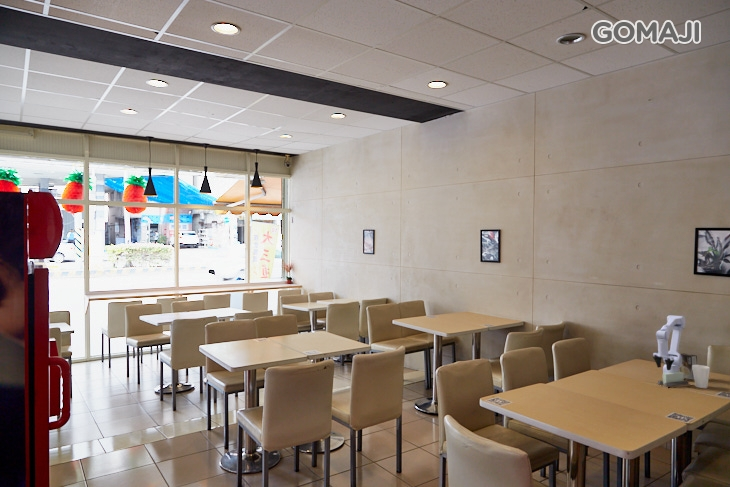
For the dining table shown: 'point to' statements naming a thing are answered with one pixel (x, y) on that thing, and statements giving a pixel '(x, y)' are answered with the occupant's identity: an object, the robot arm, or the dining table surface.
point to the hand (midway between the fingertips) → (663, 368)
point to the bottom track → (674, 384)
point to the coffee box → (688, 365)
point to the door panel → (672, 377)
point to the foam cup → (701, 375)
